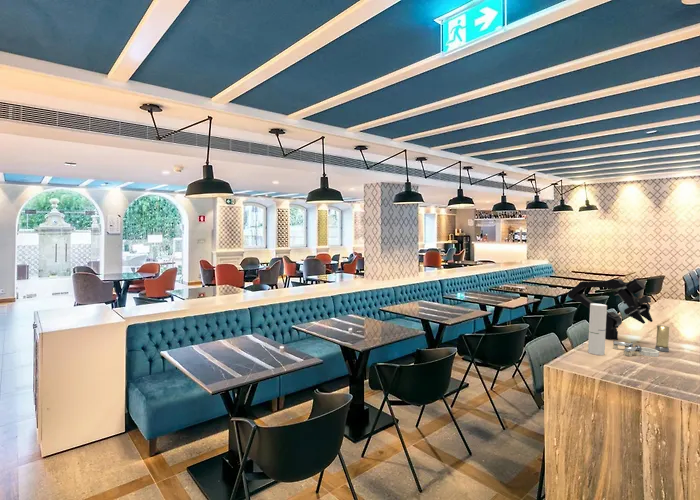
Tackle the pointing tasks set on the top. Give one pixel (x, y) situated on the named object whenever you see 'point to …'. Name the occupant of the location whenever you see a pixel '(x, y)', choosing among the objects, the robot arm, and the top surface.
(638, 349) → the shaft
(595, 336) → the light grey tall block
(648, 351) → the socket ring
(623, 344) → the shaft
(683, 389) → the top surface
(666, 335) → the tan cylindrical piece
